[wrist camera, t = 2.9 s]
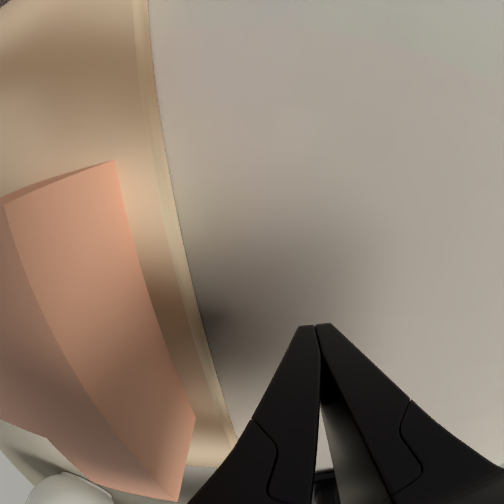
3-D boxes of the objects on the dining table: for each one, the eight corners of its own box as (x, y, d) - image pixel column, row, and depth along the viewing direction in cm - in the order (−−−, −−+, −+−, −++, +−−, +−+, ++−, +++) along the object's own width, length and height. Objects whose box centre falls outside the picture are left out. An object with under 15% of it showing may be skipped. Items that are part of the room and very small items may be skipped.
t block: (195, 417, 11) (177, 502, 7) (40, 394, 12) (8, 448, 8) (114, 159, 7) (3, 204, 3) (-46, 215, 8) (-110, 254, 4)
